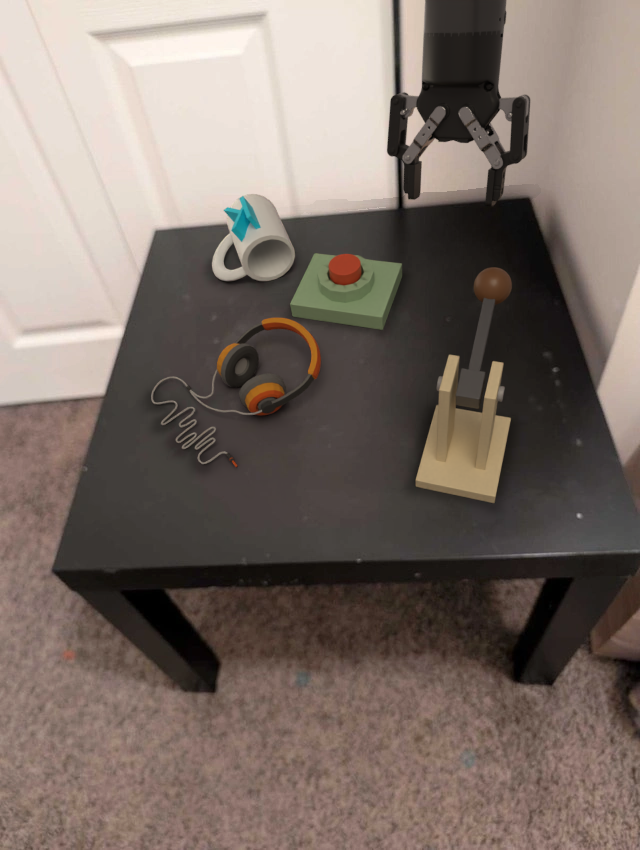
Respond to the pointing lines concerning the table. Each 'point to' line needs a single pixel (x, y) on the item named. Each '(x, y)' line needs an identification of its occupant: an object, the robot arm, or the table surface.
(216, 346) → the table surface
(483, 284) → the lever
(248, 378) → the headphones
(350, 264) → the button
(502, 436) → the switch bracket
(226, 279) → the mug
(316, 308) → the control block
